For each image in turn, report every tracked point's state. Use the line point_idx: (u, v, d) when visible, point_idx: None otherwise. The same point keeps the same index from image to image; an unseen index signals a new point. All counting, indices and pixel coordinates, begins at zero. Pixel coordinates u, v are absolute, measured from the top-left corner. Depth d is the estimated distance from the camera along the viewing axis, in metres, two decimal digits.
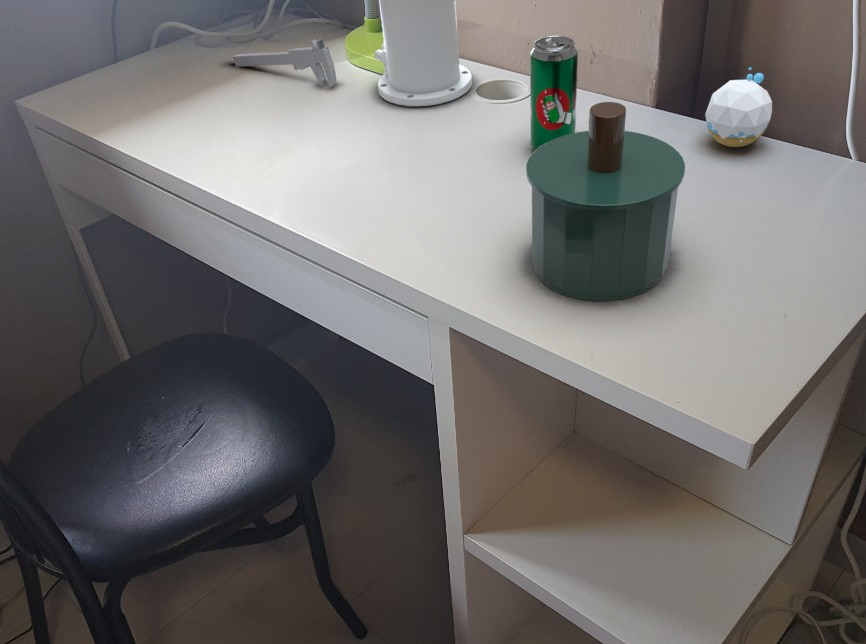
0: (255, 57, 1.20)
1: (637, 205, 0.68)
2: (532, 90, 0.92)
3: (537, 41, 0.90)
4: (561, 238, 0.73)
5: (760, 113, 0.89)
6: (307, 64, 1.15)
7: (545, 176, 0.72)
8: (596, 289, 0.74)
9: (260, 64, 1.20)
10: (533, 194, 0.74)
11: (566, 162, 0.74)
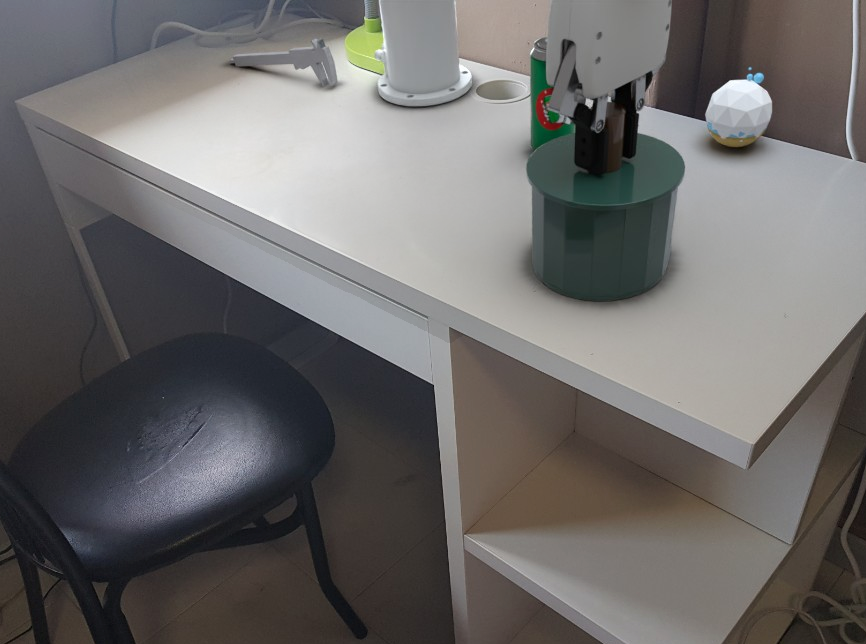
0: (255, 57, 1.20)
1: (637, 205, 0.68)
2: (531, 90, 0.92)
3: (537, 41, 0.90)
4: (561, 238, 0.73)
5: (760, 113, 0.89)
6: (307, 64, 1.15)
7: (545, 176, 0.72)
8: (596, 289, 0.74)
9: (260, 64, 1.20)
10: (533, 194, 0.74)
11: (566, 162, 0.74)
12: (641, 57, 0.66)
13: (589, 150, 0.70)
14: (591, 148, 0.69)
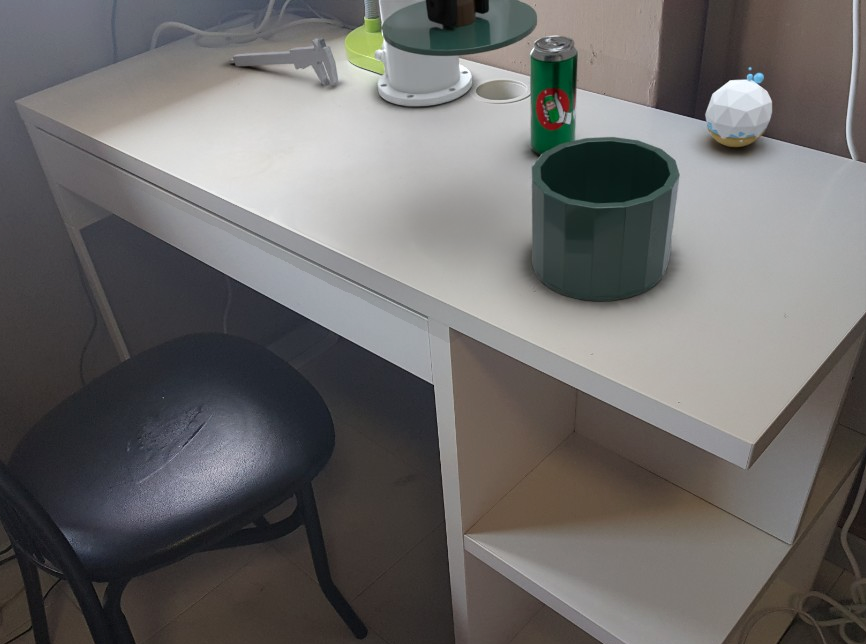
0: (255, 57, 1.20)
1: (482, 50, 0.69)
2: (531, 90, 0.92)
3: (537, 41, 0.90)
4: (561, 238, 0.73)
5: (760, 113, 0.89)
6: (308, 63, 1.15)
7: (398, 30, 0.73)
8: (596, 289, 0.74)
9: (261, 64, 1.20)
10: (533, 194, 0.74)
11: (422, 19, 0.74)
12: None
13: None
14: None
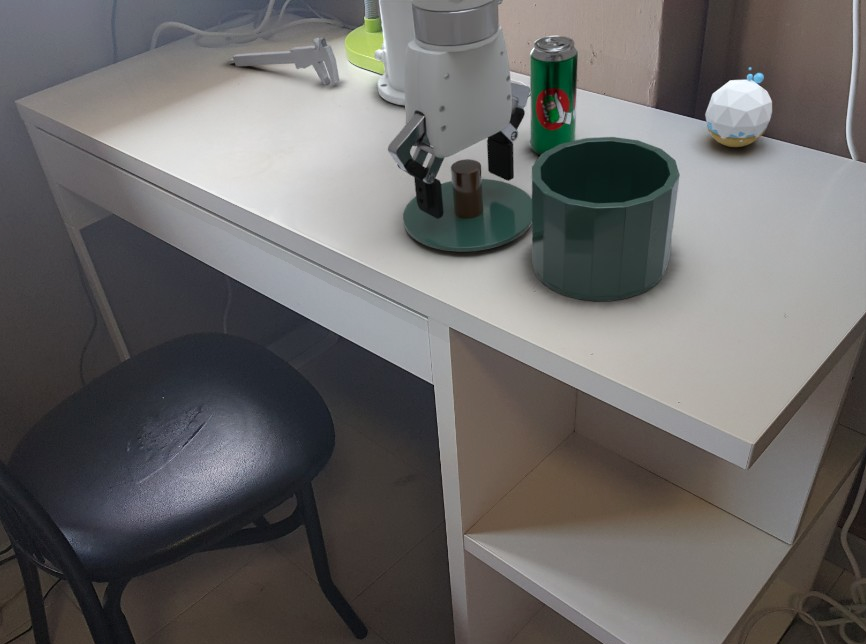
0: (256, 57, 1.20)
1: (488, 247, 0.82)
2: (531, 90, 0.92)
3: (537, 41, 0.90)
4: (561, 238, 0.73)
5: (760, 113, 0.89)
6: (309, 63, 1.15)
7: (417, 221, 0.86)
8: (596, 289, 0.74)
9: (261, 63, 1.20)
10: (533, 194, 0.74)
11: None
12: (485, 122, 0.79)
13: (425, 198, 0.81)
14: (426, 196, 0.81)
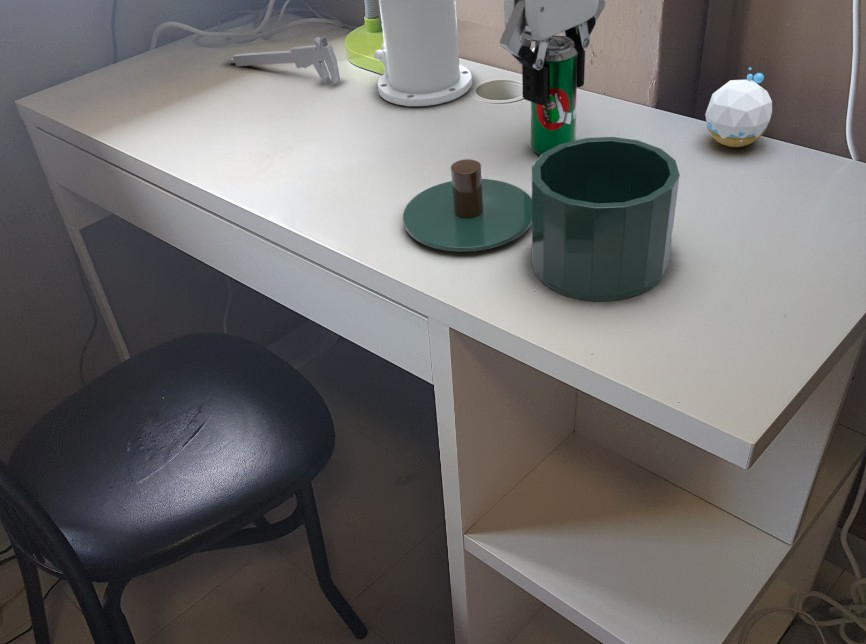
0: (256, 56, 1.20)
1: (488, 247, 0.82)
2: None
3: None
4: (561, 238, 0.73)
5: (760, 113, 0.89)
6: (310, 62, 1.15)
7: (417, 221, 0.86)
8: (596, 289, 0.74)
9: (261, 63, 1.20)
10: (533, 194, 0.74)
11: (437, 208, 0.87)
12: (577, 9, 0.85)
13: (532, 84, 0.89)
14: (534, 83, 0.89)
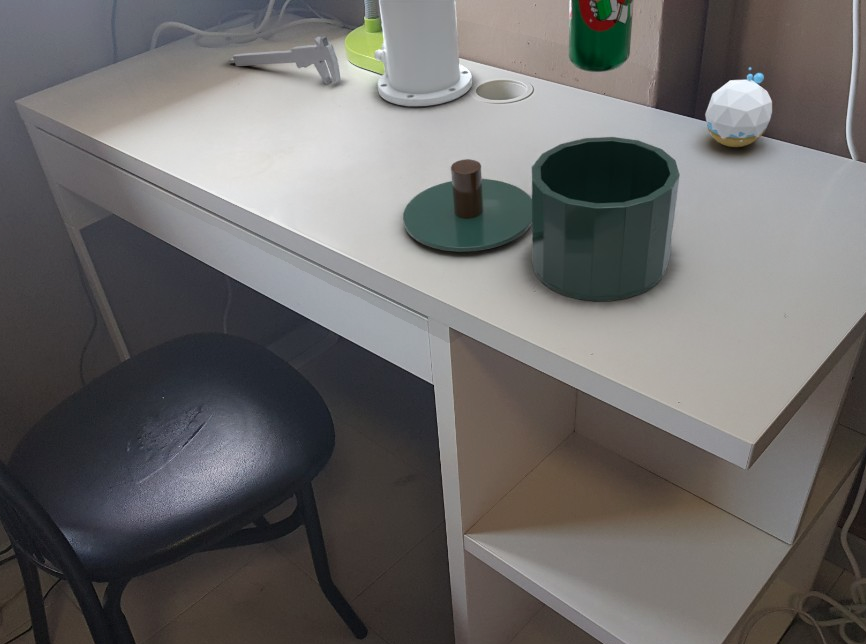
0: (256, 56, 1.20)
1: (488, 247, 0.82)
2: None
3: None
4: (561, 238, 0.73)
5: (760, 113, 0.89)
6: (310, 62, 1.15)
7: (417, 221, 0.86)
8: (596, 289, 0.74)
9: (261, 63, 1.20)
10: (533, 194, 0.74)
11: (437, 208, 0.87)
12: None
13: None
14: None
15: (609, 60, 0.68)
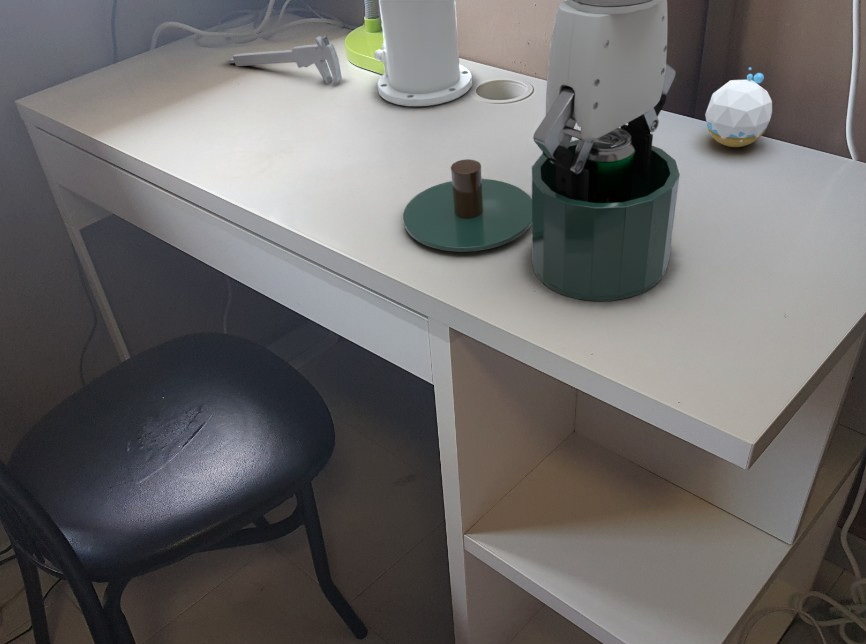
0: (256, 56, 1.20)
1: (488, 247, 0.82)
2: None
3: None
4: (561, 238, 0.73)
5: (760, 113, 0.89)
6: (311, 61, 1.15)
7: (417, 221, 0.86)
8: (596, 289, 0.74)
9: (262, 63, 1.20)
10: (533, 194, 0.74)
11: (437, 208, 0.87)
12: (637, 100, 0.68)
13: (569, 190, 0.70)
14: (571, 188, 0.70)
15: None
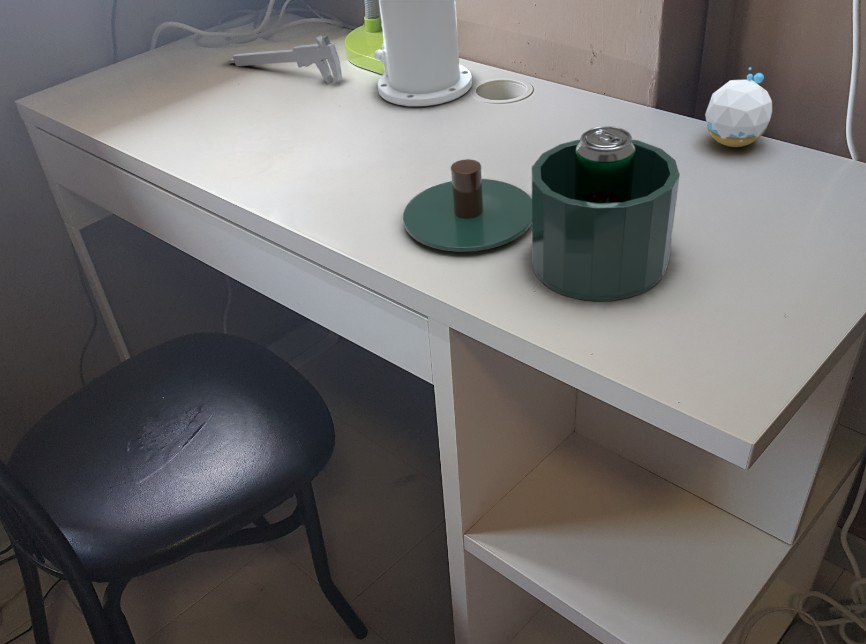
0: (257, 56, 1.20)
1: (488, 247, 0.82)
2: (576, 193, 0.74)
3: (584, 134, 0.72)
4: (561, 238, 0.73)
5: (760, 113, 0.89)
6: (312, 61, 1.15)
7: (417, 221, 0.86)
8: (596, 289, 0.74)
9: (262, 63, 1.20)
10: (533, 194, 0.74)
11: (437, 208, 0.87)
12: None
13: None
14: None
15: None
